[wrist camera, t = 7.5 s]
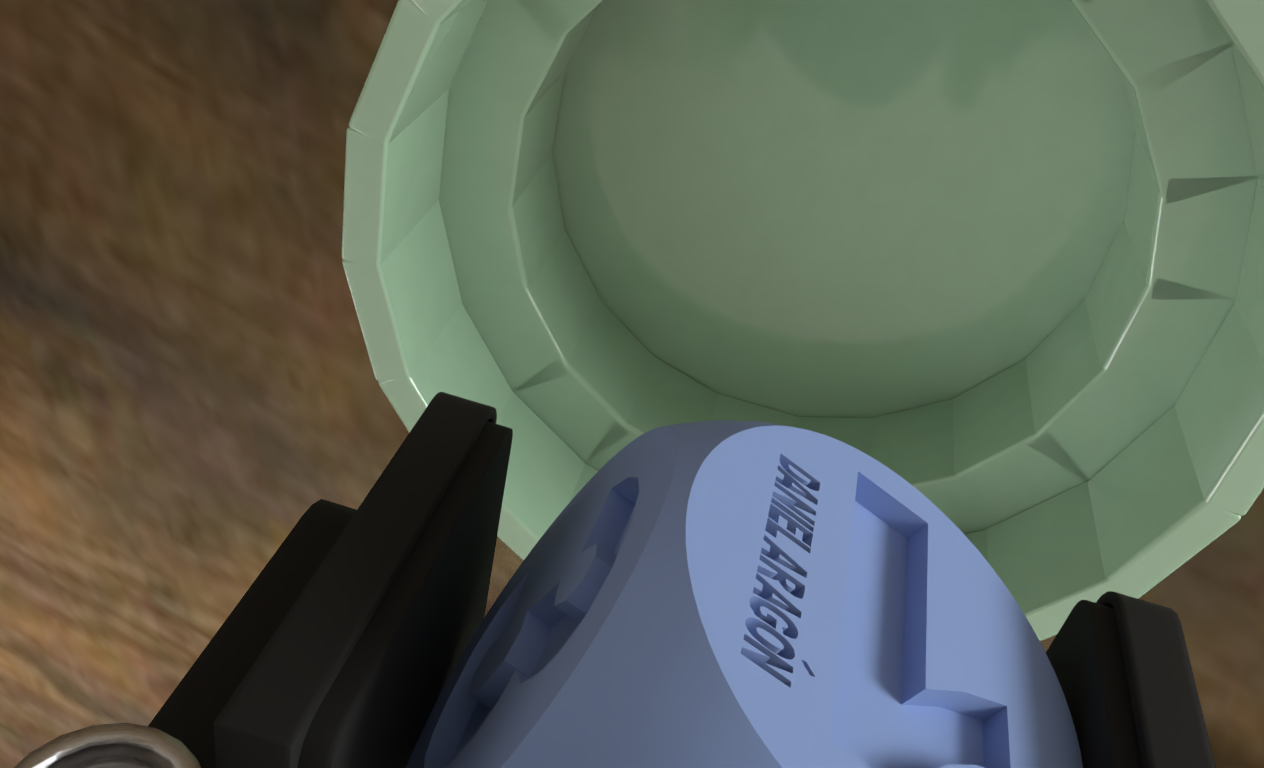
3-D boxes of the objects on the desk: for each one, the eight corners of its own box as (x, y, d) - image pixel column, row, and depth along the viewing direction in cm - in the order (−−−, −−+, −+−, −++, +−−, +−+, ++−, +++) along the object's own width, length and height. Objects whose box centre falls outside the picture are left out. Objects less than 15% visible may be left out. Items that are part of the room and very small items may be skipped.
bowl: (442, 368, 24) (329, 534, 19) (519, -357, 16) (364, -357, 12) (1049, 545, 23) (1077, 763, 18) (1433, -141, 15) (1637, -51, 11)
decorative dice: (1070, 596, 10) (1129, 1045, 7) (787, 778, 12) (732, 1182, 9) (724, 335, 9) (610, 698, 6) (492, 577, 12) (320, 937, 8)
